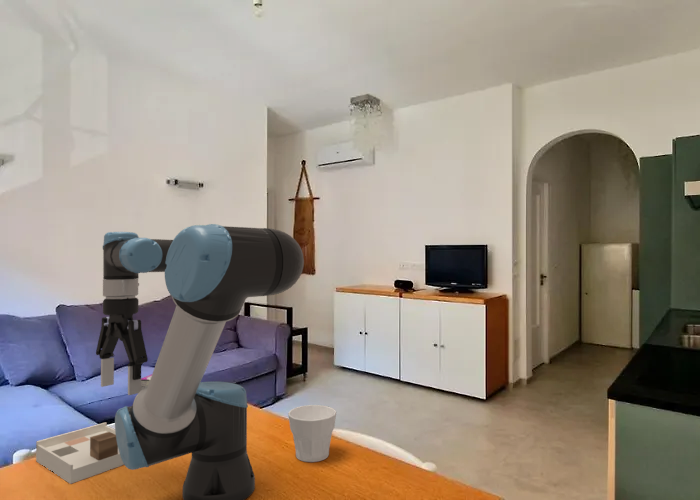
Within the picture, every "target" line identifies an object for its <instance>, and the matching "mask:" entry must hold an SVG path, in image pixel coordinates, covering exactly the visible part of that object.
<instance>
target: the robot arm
mask: <svg viewBox="0 0 700 500" xmlns="http://www.w3.org/2000/svg"><path fill="white" fill-rule="evenodd" d="M102 250H103V251H102V252H103V255H102V256H103V257H102V259H103V265H102V267H103V268H102V271H103V273H102V275H103V277H102V278H103V279H102V296H103V298H104V297H105V298H104V299H103V300H102V314H103V315H104V316H105V317H101V327H100V332H99V335H98V340H97V345H96V352H95V355H96V356H99V359H100V387H101V388H103V387H107V386H113V385H114V383H115V377H114V376H115V371H114V370H115V358H114V357H115V356H116V355H115V354H114V351H115V348H116V346H117V344H118V342H119V341H121V342H122V345H123V347H124V350H125V352H126V356H127V358H128V362H129V363H128V364H127V365H126V366H127V396H133V395H136V396H135V397H134V400H133V403H132V405H131V406H128V405H124V407H122V408H119V409H118V410H117V411H116V412H115V416H114V429H115V433H116V440H117V445H118V449H119V453H120V456H121V459H122V461H123V463H124V465H123V466H125V467H126V468H127V469H128V470H132V471H134V470H138V469H143V468H149V467H151V466H154V465H157V464H160V463H161V464H162V463H164V462H167V461H170V460H173V459H176V458H179V457H183V456H185V455H189V454H191V459H190V462H189V466H188V469H187V471H186V476H185V479H184V481H183V484H182V499H183V500H246V499H247V498H249V497H250V496H251V495H252V494H254V493H253V492H254V491H255V489H256V488H255V487H256V478H255V473H254V471H253V467H252V464H251V460H250V458H249V455H248V449H247V448H248V447H247V446H248V439H247V437H248V435H247V434H248V433H247V432H248V431H247V429H248V427H247V426H248V424H247V423H248V408H249V407H248V400H247V399H248V397H247V391H246V389H245V387H243V386H242V385H240V384H237V383H235V382H233V383H232V382H227V381H202V380H203V377H204V375H205V374H206V371H207V368H208V367H209V363H210V361H211V360H212V356H213V354H214V351H215V349H216V347H217V344H218V342H219V339H220V338H221V335H222V333H223V330H224V327H225V325H226V322H230V321H232V320H234V319H236V317H238V316H239V314H240V313H241V311H242V309H243V306H244V304H245V302H246V300H247V299H248V298H255V297H256V298H257V297H268V296H269V297H270V296H274V295H279V294H282V293H284V292H286V291H288V290H289V289H291V288H292V287H294V285H296V283H297V282H298V280H299V279H300V277H301V275H302V273H303V270H304V265H305V260H304V253H303V250H302V248H301V246H300V244H299V242H297V240H296V239H295V238H294V237H293V236H291V235H290V234H289V233H286V232H284V231H282V230H279V229H275V228H269V227H267V228H265V227H263V228H261V227H243V226H241V227H240V226H226V225H225V226H224V225H220V224H216V223H209V224H205V225H204V224H202V225H200V224H199V225H198V224H196V225H194V224H193V225H190V226H187V227H185V228H184V229H183V228H182V230H180V232H178V233H177V234H176V236H175V237H174V238H173V239H157V238H148V237H139V235H138V234H137V233H136V232H131V231H108V232H106V233H105V234H104V235H103V245H102ZM140 273H142V274H145V273H146V274H147V273H164V281H165V285H166V289H167V291H168V293H169V294H170V297H171V298H172V301H173V303H174V304H175V309H174V312H173V315H172V317H171V320H170V323H169V326H168V329H167V332H166V334H165V337H164V340H163V342H162V345H161V348H160V351H159V354H158V357H157V360H156V362H155V365H154V369H153V371H152V373H151V374H152V376H151V379H150V382H149V385H148V386H147V387H145V388H144V389H142V390H141V378H142V366H143V364H145V363H147V362H148V361H149V359H148V355H147V349H146V345H145V341H144V335H143V331H142V321H141V319H134V315H135V314H137V313H138V312H139V298H138V297H136V296H138V295H139V286H140V283H139V274H140Z"/></svg>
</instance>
